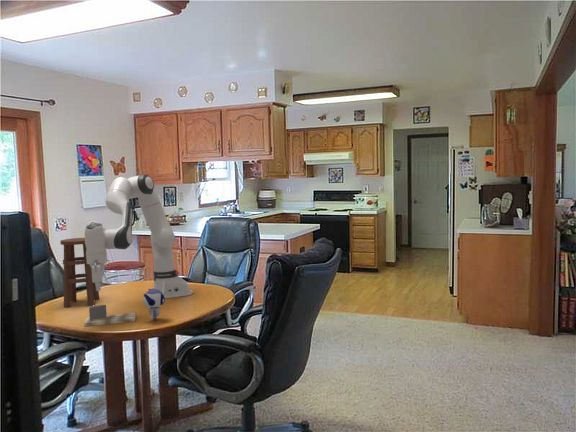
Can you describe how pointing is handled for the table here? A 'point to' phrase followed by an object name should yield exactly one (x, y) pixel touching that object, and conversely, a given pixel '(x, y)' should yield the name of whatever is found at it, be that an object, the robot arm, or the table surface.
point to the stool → (71, 276)
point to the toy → (153, 301)
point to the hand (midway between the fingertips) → (99, 288)
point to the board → (111, 319)
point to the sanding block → (97, 312)
